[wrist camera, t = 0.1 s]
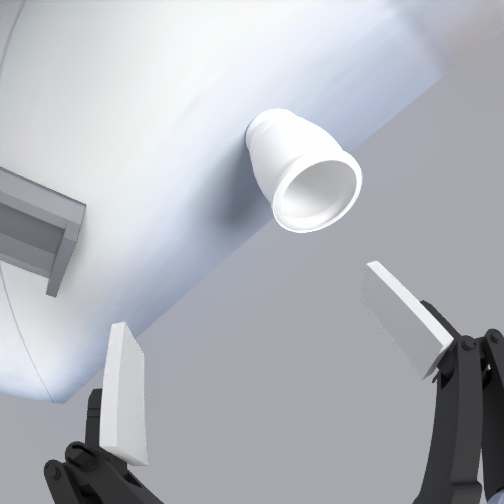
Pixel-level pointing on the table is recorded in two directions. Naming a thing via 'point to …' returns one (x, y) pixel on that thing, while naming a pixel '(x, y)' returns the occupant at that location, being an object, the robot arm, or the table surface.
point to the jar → (301, 171)
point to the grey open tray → (37, 227)
